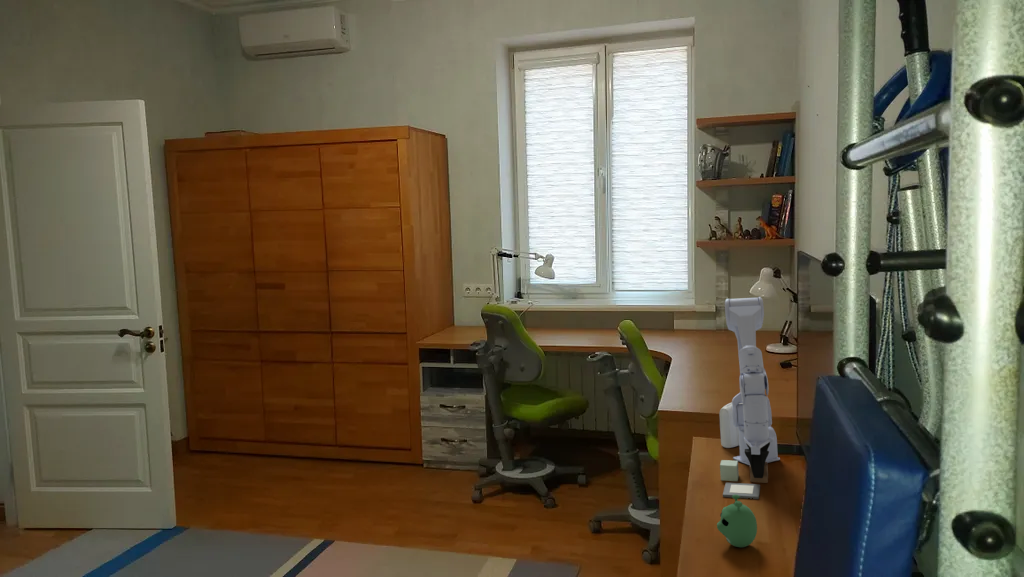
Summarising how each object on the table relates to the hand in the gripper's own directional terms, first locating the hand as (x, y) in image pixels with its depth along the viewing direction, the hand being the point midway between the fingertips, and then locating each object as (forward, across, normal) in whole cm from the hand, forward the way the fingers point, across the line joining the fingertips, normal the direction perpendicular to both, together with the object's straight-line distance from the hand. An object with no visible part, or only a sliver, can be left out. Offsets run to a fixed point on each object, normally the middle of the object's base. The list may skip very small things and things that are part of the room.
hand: (759, 473), depth 174 cm
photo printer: (+2, +28, +8) cm, 29 cm away
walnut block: (+2, 0, 0) cm, 2 cm away
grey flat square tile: (+1, -9, +4) cm, 10 cm away
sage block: (+2, 0, +7) cm, 7 cm away
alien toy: (+2, -38, +2) cm, 38 cm away
